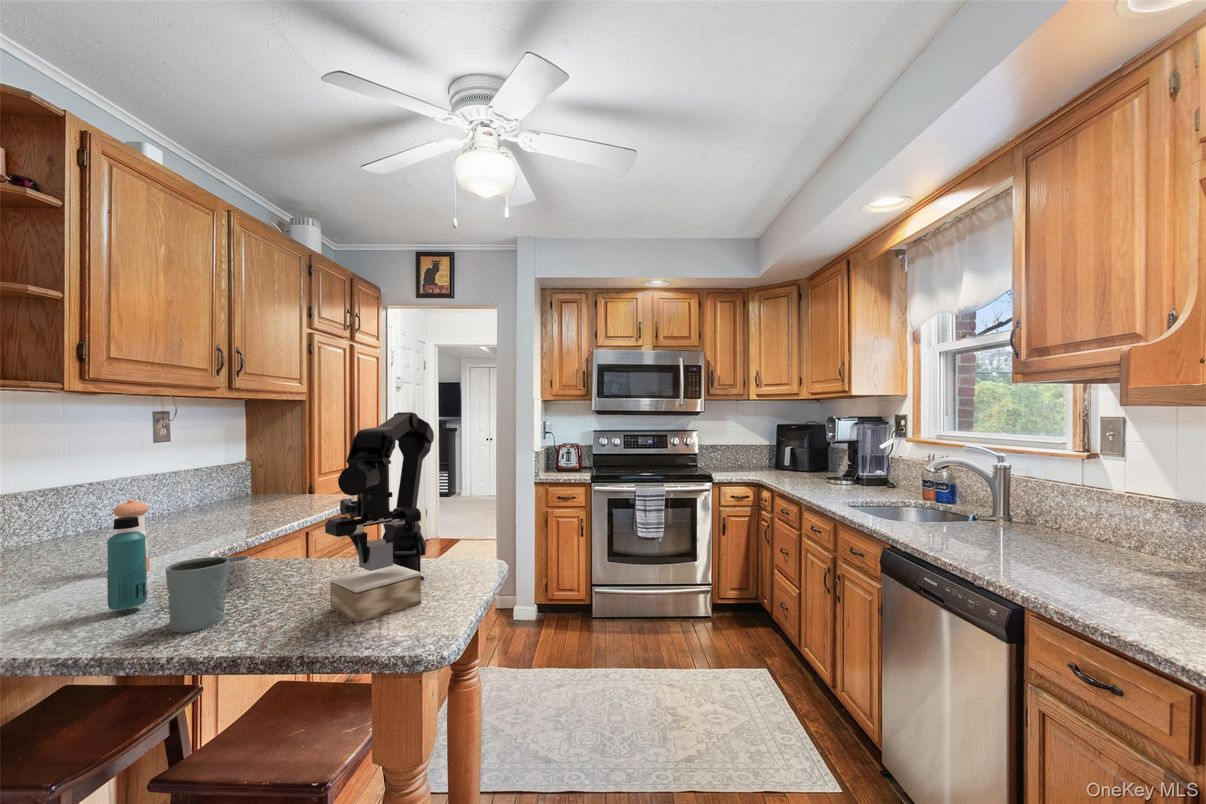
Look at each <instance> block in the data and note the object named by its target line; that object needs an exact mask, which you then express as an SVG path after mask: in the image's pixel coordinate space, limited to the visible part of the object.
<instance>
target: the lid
mask: <svg viewBox="0 0 1206 804" xmlns="http://www.w3.org/2000/svg"><path fill="white" fill-rule="evenodd" d="M421 572H422V571H421ZM421 572H417V571H414V570H411V569H408V568H405V567H402V566H399V565H396V564H393V566H389V567H385V568H381V569H377V570H373V571H368V570H366V569H363V570H360V571H355V572H353V573H352V572H351V573H348V574H344V575H340V576H335V577H332V578H329V582H333V583H335V584H337V585H340V586H342V587H344V588H347V589H349V590H351V591H353V592H356V593H357V592H361V591H365V590H368V589H372V588H376V587H379V586H383V585H387V584H390V583H394V582H398V581H401V580H405V579H409V578H413V577H416V576H420V575H421ZM421 576H422V575H421Z"/></svg>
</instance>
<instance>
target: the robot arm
mask: <svg viewBox="0 0 1206 804" xmlns="http://www.w3.org/2000/svg"><path fill="white" fill-rule="evenodd" d="M434 437H435V434H434V430H433V428H432V427H431V425H430V423H429V422H428V421H425V420H424V419H422V418H421V417H419V416H418V414H417V413H415V412H412V411H411V412H410V411H408V412H407V411H405V412H400V411H399V412H397V413H394V414H393V416H392V417H390V418H389V419H387V420H386V421H384V422H383V423H381V424H380V425H379V426H375V427H369V428H363V429H359V430H358V431H357V432H356V434H355V436H354V437H353V440H352V444H351V446H350V449H349V453H348V455H347V458H346V463H347V467H346V468H344V469H342V471H341V472H340V474H339V477H338V478H337V482H338V488H339V489H340V491H341V492H343V494H345V495H348V496H352V497H353V496H354V497H355V496H356V498H357V499H356V500H353V499H352V498H351V497H350V498H344V499H341V500H339V501H340V502H339V511H340V514H341V516H340V517H335V518H329V519H327V521H326V523H325V525H324V532H325V534H328V535H331V536H333V537H344V536H346V537H349V539H350V540H351V542H352V544H353V546H354V547H355V550H356V553H357V555H358V559H359V558H360V560H361V563H363V564H365V563H366V558H367V542H368V532H365V531H364V528H365V527H371V526H375V525H380V524H382V525H383V529H384V532H383V536H382V539H384V540H387V541H390V542H393V564H396V565H399V566H402V567H405V568H408V569H411V570H414V571H417V572H422V571H421V566H422V565H421V557H424V556H426V550H427V542H426V541H425V539H424V537H423V535H422V532H421V530H422V526H421V524H420V522H421V521H422V512H421V510H420V508H419V507H417V506H418V501H419V500H418V498H419V492H420V491H419V489H420V483H421V475H422V467H423V466H422V465H423V462H424V461H423V460H425V458H426V457H427V455H428V454H429V453H430V451H431V448H432V443H433V442H434V439H435V438H434ZM397 442H398V443H397ZM396 444H397V446H398V448H399V451H400V452H401V455H402V463H401V464H402V465H401V472H400V480H399V486H398V492H397V493H398V494H397V501H396V507H394V508H393V510H390V509H391V508H390V498H393V492H392V491H390V464H392V461H391V457H392V455H393V451H394V450H395V449H396ZM346 515H348V516H349V517H348V516H346ZM419 577H421V581H422V580H425V577H424V576H423V575H420V576H419Z"/></svg>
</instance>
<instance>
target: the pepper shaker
mask: <svg viewBox="0 0 1206 804" xmlns="http://www.w3.org/2000/svg"><path fill="white" fill-rule="evenodd" d="M148 511H149V506H148V504H147V503H145V502H142V501H136V500H135V499H134V498H133V499H132V498H131V499H128V500H127V501H126V502H123V503H120V504H118V505H116V506H115V507H114V508H113V515H114V516H115V517H117V518H122V517H131V516H136V517H138V521H139V526H138V527H134V528H127V529H116V531H117V533H116V534H118V533H123V532H133V531H138V532H141V533H142V534H144V535H145V536H146V539H145V543H146V557H147V558H146V570H147V571H149V570H150V556H149V555H148V551H149V549H148V548H149V547H148V546H149V544H148V539H147V533H146V527H145V525H146V521H145V514H147V513H148ZM117 518H116V519H117ZM147 571H146V572H147Z"/></svg>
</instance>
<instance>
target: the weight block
mask: <svg viewBox="0 0 1206 804" xmlns="http://www.w3.org/2000/svg"><path fill="white" fill-rule="evenodd" d="M389 566H393V542H390V541H387V540H384V539H383V538H378V539H374V540H369V541H368V540H367V558H366V563H365V564H363V563H361V560H360V558H359V557H358V567H359V568H361V569H363V570H368V571H373V570H377V569H381V568H385V567H389Z"/></svg>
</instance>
